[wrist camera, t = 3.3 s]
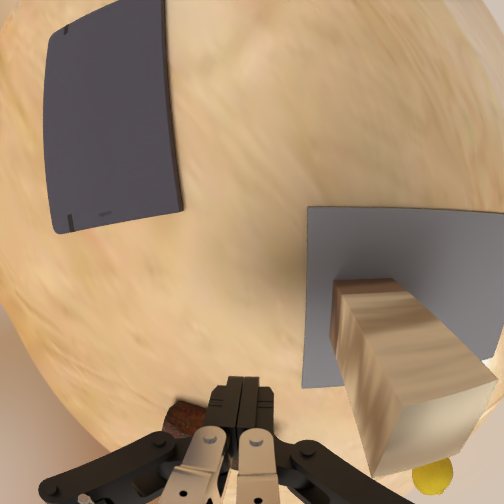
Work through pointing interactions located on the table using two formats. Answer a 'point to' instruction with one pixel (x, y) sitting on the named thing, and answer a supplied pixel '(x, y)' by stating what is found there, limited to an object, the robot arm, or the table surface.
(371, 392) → the tall block
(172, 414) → the brick
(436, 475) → the lemon
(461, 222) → the rubber mat
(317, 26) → the table surface
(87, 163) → the notebook
